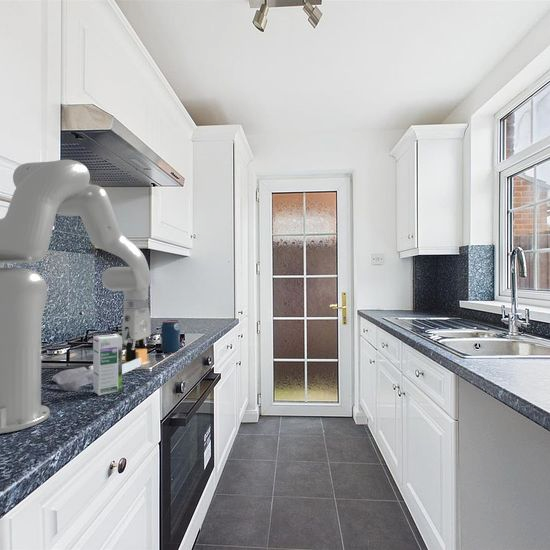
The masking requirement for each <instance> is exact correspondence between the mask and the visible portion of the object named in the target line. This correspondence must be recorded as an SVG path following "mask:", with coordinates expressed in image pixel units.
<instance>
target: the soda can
mask: <svg viewBox="0 0 550 550" xmlns="http://www.w3.org/2000/svg"><path fill="white" fill-rule="evenodd" d="M160 327H161V329H160V330H161V331H160V333H161V338H160V339H161V343H160V344H161V347H160V349H161V351H162V353H164V352H167V353H166V354H173V353H172V352H176V353H178V352H179V350H180V349H181V348H180V347H181V346H180V345H181V339H180V337H181V325H180V322H179V320H178V319H177V320H176V319H167V320H163V321H162V324H161V326H160ZM177 351H178V352H177Z"/></svg>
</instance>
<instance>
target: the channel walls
mask: <svg viewBox="0 0 550 550" xmlns="http://www.w3.org/2000/svg"><path fill="white" fill-rule="evenodd" d="M137 367H138V368H139V367H142V366H141V358H137V359H135V360H132V361H130V362H127V363H125V364H122V375H124V374H126V373H129V372H130V371H133V370H135V369H137ZM88 369H93V364H91V365H90V366H88Z"/></svg>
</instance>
